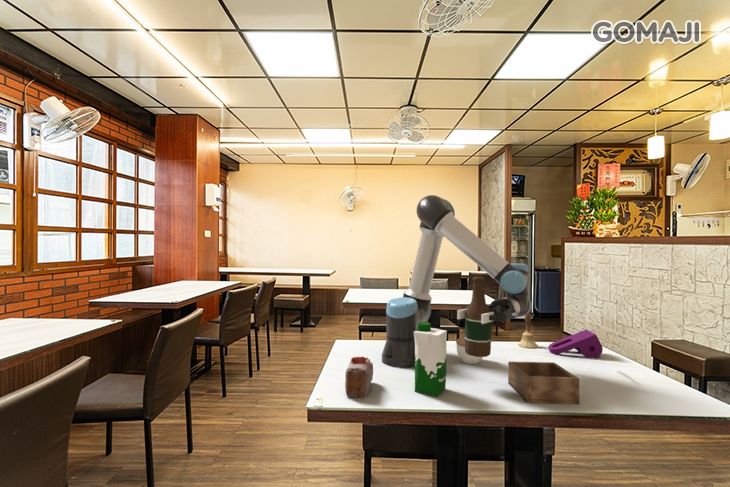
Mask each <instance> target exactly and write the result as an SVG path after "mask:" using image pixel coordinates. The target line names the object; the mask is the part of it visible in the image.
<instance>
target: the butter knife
mask: <svg viewBox="0 0 730 487" xmlns="http://www.w3.org/2000/svg"><path fill="white" fill-rule="evenodd" d="M616 373H617V374H619V375H621V376H623V377H624V378H626V379H628V380H630V381H631V382H633V383H635V384H637V385H638V386H642V384H640V383H639V382H638V381H636V380H635V379H633V378H632V377H631V376H629V375H628V374H626V373H625V372H622V371H620V370H617V371H616Z"/></svg>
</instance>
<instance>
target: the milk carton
mask: <svg viewBox="0 0 730 487" xmlns="http://www.w3.org/2000/svg"><path fill="white" fill-rule="evenodd" d="M431 326H432V324H431V323H430V322H427V321H426V322H419V323H418V326H417V330H416V331H414V339H415V366H414V392H416V393H419V394H424V395H429V396H433V397H437V398H438V397H439V396H440V395H441V394H442V393H443V392H444V391H445V390H446V385H447V384H446V382H447V338H448V336H447V335H448V334H447V333H448V330H445V329H444V330H443V329H440V328H434V327H431Z"/></svg>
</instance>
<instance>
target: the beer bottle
mask: <svg viewBox="0 0 730 487" xmlns="http://www.w3.org/2000/svg"><path fill="white" fill-rule="evenodd" d="M472 281H473V283H472V284H473V285H472V296H471V300H470V301H471V302H470V303H469V304H468V305H467V306H468V307H467V310H466V315H465V318H464V320H465V321H464V338H465V352H466V353H467V354H468V355H471V356H476V357H483V358H487V357H488V356H490V355H491V349H492V322H488V323H485V324H482V323H481V314H485V313H489V312H490V309H489V307H488V306H487V305H488V303H486V295H485V294H486V292H485V281H486V279H485V276H479V275H478V276H473V277H472Z"/></svg>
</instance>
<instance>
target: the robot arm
mask: <svg viewBox="0 0 730 487" xmlns="http://www.w3.org/2000/svg"><path fill="white" fill-rule="evenodd" d="M416 216H417V218H418V220H419V221H420V223H419V230H420V231H421V235H420V240H419V244H418V248H417V251H416V256H415V260H414V266H413V268H412V274H411V277H410V282H409V286H408V288H407V289H406V290H404V291H403V294H402V295H403V297H396V298H395V297H394V298H392V299H389V300H388V301H387V303H386V310H385V312H386V316H385V317H386V320H385V322H386V324H385V325H386V332H385V333H386V338H385V343H384V346H383V349H382V352H381V362H382V363H383V364H385V365H387V366H392V367H397V368H411V367H415V339H414V331H416V330H417V329H418V328H417V326H418V323H419V322H427V321H428V320H429V319H430V317H431V313H432V308H431V303H432V297H431V295H430V292H431V291H430V290H431V287H432V284H433V279H434V275H435V271H436V267H437V262H438V258H439V254H440V251H441V245H442V242H443V238H445V239H447V240H448V241H449V242H450V243H451V244H453V245H454V246H455V247H456V248H457V249H458V250H460V251H461V253H463V254H464V255H465V256H466V257H468V258H469V259H470V260H471V261H472V262H473V263H475V264H476V265H477V266H478V267H479V268H480V269H482V270H483V272H485V273H486V274H488V275H489V276H490V277H491V278H492V279H493V280H495V282H497V283H498V284H499V285H500V286H501V288H502V289H503V291H504V292H505V297H500V298H497V299H494V300H492V301H491V302H490V304H489V303H488V304H487V306H488V307H489V309H490V312H489V313H485V314H481V323H482V324H485V323H488V322H491V323H492V322H494V321H495V322H502V323H504V322H507V321H510V320H511V319H512V320H513V319H516V318H518V317H519V318H520V317H525V315H526V314H528V313H529V312H530V313H531V311H532V308H533V304H532V301H531V299H530V298H529V291H528V290H529V266H528V264H526V263H517V262H512V263H510V262H509V261H507V260H506V259H505V258H504V257H502V256H501V255H500V254H499V253H498V252H497V251H496V250H495V249H493V248H492V247H490V246H489V245H488V244H487V243H486V242H485V241H484V240H482V239H481V238H480V237H479V236H478V235H476V234H475V233H474V232H473V231H472V230H470V229H469V228H468V227H467V226H466V225H464V224H463V223H462V222H461V221H460V220H459V219H457V218H456V217H455V216H456V213H455V209H454V207H453V205H452V203H451V202H450V201H449V200H447V199H446V198H445V199H444V198H443V197H441V196H438V195H436V194H435V195H433V194H430V195H429V194H428V195H426V196H424V197H422V198H421V200H419V201H418V204H417V206H416ZM468 306H469V305H467V306H462V307H461V309H457V310H456V312H457V313H456V320H462V319H465V315H466V310H467V307H468Z"/></svg>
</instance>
